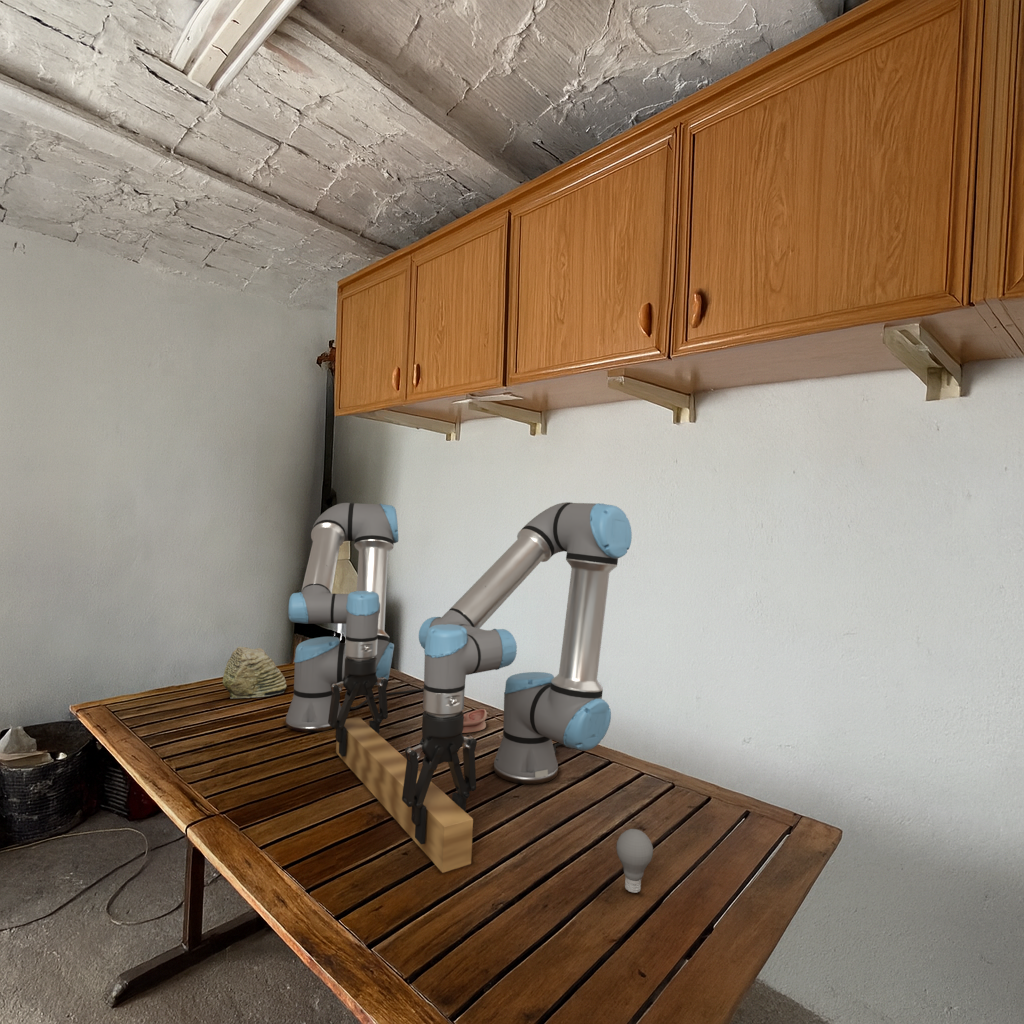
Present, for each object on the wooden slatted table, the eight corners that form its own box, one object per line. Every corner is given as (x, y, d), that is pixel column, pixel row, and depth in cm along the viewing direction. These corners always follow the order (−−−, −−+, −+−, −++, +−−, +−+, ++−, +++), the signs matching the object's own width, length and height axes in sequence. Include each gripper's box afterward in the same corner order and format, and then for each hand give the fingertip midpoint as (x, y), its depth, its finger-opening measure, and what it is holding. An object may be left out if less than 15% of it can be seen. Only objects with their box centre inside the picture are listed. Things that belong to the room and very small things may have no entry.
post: (335, 752, 157) (337, 720, 157) (358, 748, 160) (359, 716, 160) (442, 873, 109) (444, 826, 108) (471, 863, 112) (473, 818, 112)
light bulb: (610, 879, 108) (613, 822, 108) (644, 879, 109) (647, 822, 109) (619, 902, 102) (622, 840, 102) (655, 901, 103) (658, 840, 103)
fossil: (218, 695, 195) (220, 647, 195) (278, 685, 208) (279, 640, 207) (228, 703, 189) (230, 653, 188) (289, 692, 201) (290, 645, 201)
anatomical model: (433, 716, 174) (446, 703, 185) (433, 730, 174) (445, 716, 185) (480, 721, 171) (490, 708, 182) (479, 736, 171) (489, 722, 183)
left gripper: (324, 664, 143) (321, 765, 144) (405, 656, 154) (401, 749, 155) (315, 656, 150) (311, 753, 150) (393, 649, 160) (389, 739, 161)
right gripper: (401, 726, 107) (396, 860, 108) (499, 709, 118) (494, 831, 119) (384, 712, 114) (379, 839, 114) (479, 697, 124) (474, 813, 125)
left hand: (357, 751), depth 152 cm, fingers open, 7 cm apart
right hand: (438, 834), depth 116 cm, fingers open, 7 cm apart
